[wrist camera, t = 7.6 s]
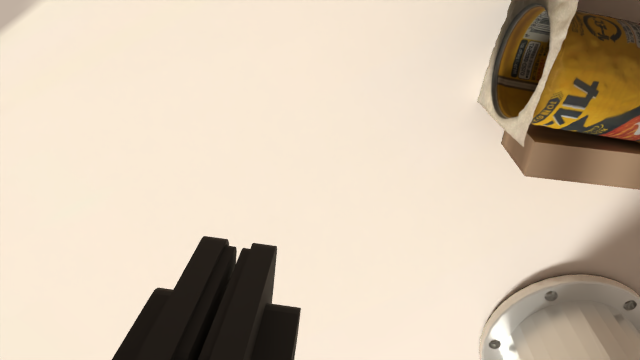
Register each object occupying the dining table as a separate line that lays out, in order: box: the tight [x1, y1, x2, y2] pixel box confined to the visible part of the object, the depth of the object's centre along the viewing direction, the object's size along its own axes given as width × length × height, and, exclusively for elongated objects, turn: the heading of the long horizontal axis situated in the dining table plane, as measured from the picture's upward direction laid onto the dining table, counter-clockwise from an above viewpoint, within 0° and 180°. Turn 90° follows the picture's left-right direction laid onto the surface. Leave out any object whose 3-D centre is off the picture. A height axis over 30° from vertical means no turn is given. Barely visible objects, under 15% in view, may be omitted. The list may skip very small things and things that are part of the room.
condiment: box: [477, 0, 640, 147], centre depth 28 cm, size 7×8×12 cm
